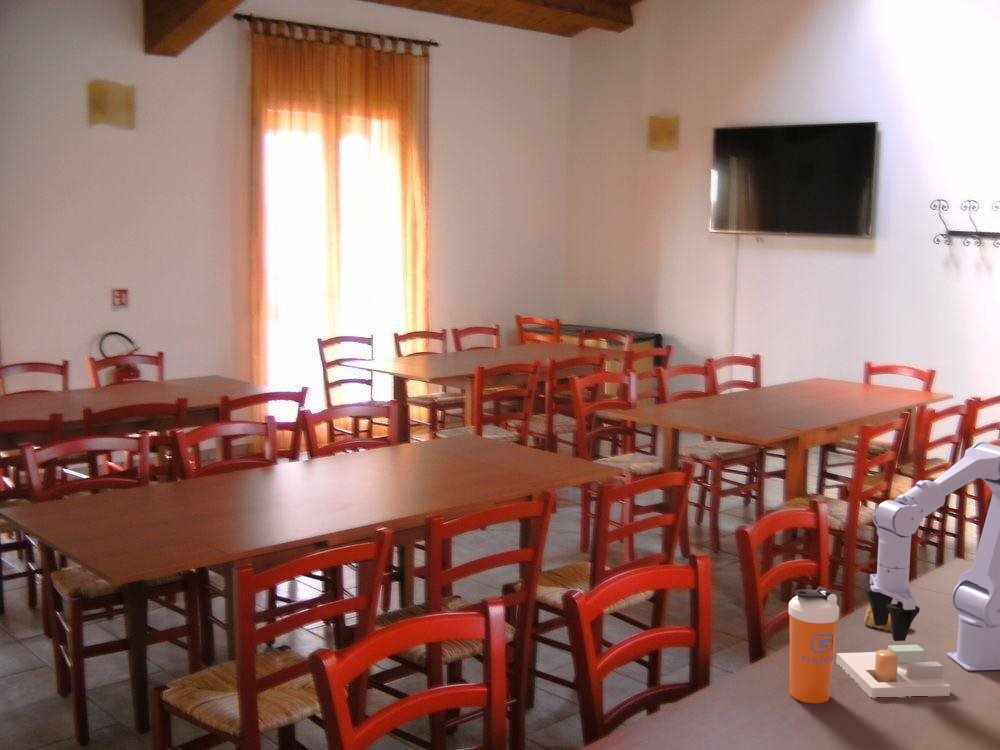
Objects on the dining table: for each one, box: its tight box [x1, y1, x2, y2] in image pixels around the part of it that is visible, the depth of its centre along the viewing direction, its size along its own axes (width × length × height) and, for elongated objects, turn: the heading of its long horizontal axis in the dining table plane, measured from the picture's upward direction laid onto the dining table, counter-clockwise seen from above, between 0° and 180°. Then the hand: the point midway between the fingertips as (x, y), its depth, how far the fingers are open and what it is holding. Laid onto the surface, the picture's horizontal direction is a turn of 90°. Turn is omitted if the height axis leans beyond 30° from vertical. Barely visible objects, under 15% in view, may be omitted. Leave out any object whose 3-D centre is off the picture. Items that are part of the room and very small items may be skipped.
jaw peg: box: [874, 649, 898, 683], centre depth 195 cm, size 4×4×6 cm
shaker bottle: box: [787, 586, 840, 705], centre depth 190 cm, size 9×9×20 cm
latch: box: [887, 644, 926, 664], centre depth 202 cm, size 6×3×2 cm, turn 95°
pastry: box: [863, 605, 912, 631], centre depth 225 cm, size 9×7×4 cm
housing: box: [835, 651, 951, 699], centre depth 198 cm, size 15×16×4 cm
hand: (889, 632), depth 198 cm, fingers open, 7 cm apart
